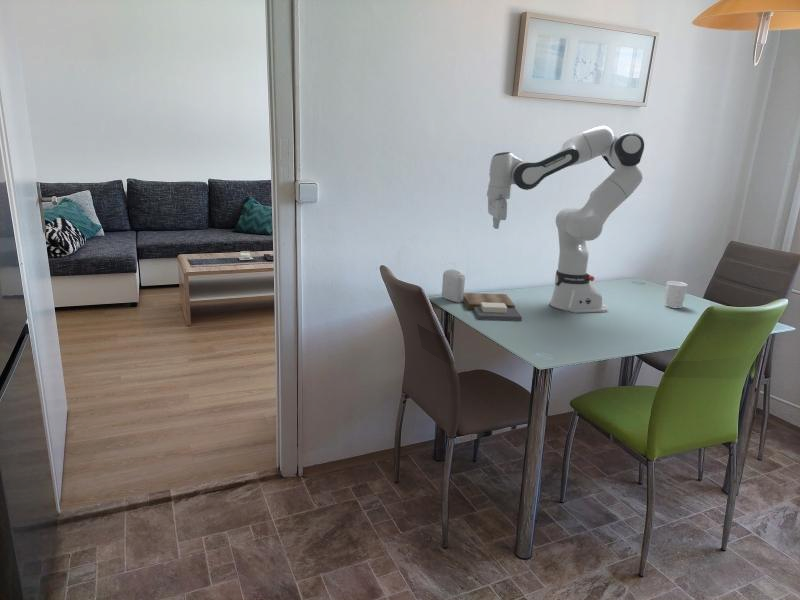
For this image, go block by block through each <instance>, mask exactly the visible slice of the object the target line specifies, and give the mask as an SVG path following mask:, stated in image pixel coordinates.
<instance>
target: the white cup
mask: <svg viewBox="0 0 800 600" xmlns="http://www.w3.org/2000/svg"><path fill="white" fill-rule="evenodd" d="M688 286H689V285H688V284H687V283H686V282H681V281H677V280H668V281H667V282H666V285H665V292H664V293H665V295H664V303H665V305H666V306H670V307H676V308H680V307H682V308H683V304H684V301H685V297H686V294H687V289H688ZM665 305H664V306H665ZM666 306H665V307H666Z"/></svg>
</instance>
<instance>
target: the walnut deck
mask: <svg viewBox="0 0 800 600" xmlns="http://www.w3.org/2000/svg"><path fill="white" fill-rule="evenodd" d="M463 302H464V304H465V307H466V308H467V310H468V311H474V307H481V302H487V303H504V304H505V305H506V307H507V308H515V309H516V304H515V303H514V302H513V300H512V299H510V297H509V296H508V294H506V293H480V292H479V293H475V292H474V293H472V292H464V298H463Z"/></svg>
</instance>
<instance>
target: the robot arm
mask: <svg viewBox="0 0 800 600" xmlns="http://www.w3.org/2000/svg"><path fill="white" fill-rule="evenodd" d="M644 149H645V141H644V138H643V137H642V136H641V135H640V134H638V133H637V132H626V133H623V134H622V135H620V136H619V137H617V136H615V135H614V132H613V130H612V129H611V128H610V127H608V126H606V125H601V126H597V127H592V128H590V129H586V130H584V131H582V132H579V133H577V134H576V135H574V136H571V137H570V138H569V139H567V140H566V141H565V142H564V143H563V145H562V147H561V149H560V150H559V151H558V152H556V153H555V154H553V155H550V156H548V157H546V158H544V159H542V160H540V161H537V162H528V161H525V160H523V159H521V158H519V157H518V156H516V155H514V154H513V153H512V152H510V151H506V152H505V151H504V152H498V153H495V154H494V155H493V156H492V158H491V161H490V166H489V182H488V187H487V193H486V196H487V198H488V199H487V200H488V201H487V212H488V214H489V215H491V216H492V223H493V225H492V228H494V229H495V230H498V229H499V228H500V223H501V221H506V220H507V215H508V202H507V200H510V197H511V189H512V187H511V186H512V185H516V186H517V187H518V188H520V190H521V189H522V190H525V191H528V190H533V189H534V188H536V187H537V186H539V184H541V182H542V181H543V180H544V179H546V178H548V177H549V176H551V175H553V174H554V173H555V174H556V172H557V173H558V172H559V171H562V170H564V169H566V168H568V167H572V166H576V165H580V164H583V163H585V162H588V161H590V160H593V159H595V158H597V157H600V156H601V157H602V159H604V161H606V163H607V164H608V166H609V167H610V168H611V169H613V172H611V174H610V175H608V176H607V178H605V179H604V180H603V181H602V182H601V183H600V184H598V185H597V186H596V188H594V189H593V191H591V192H590V194H589V198H588V200H587V201H586V203H585V204H584V206H582V207H581V208H580V209H579V208H577V207H567V208H566V207H565V208H564V209H561V210H560V211H559V212H557V215H556V217H555V225H556V227H557V234H558V244H559V245H558V246H559V253H558V254H559V257H558V265H557V269H556V272H555V276H554V289H553V292H552V293H553V294H552V295H551V299H550V301H549V305H550V306H551V307H553V308H555V309H559V310H562V311H563V310H564V311H567V312H571V313H573V314H574V313H602V312H608V307H607V305H606V304H605V303H603V296H602V294H601V292H600V291H599V290H598V289H597V288H596V287H595V286H594V285H593V284H592V283H591V282H594V281H595V277H594V276H593V275H590V274H589V273H588V272H587V271H588V262H589V251H588V248H587V242H588V241H594V240H596V239H597V238H599V237H600V235H601V234H602V231H603V226H604V225H605V223H606V222H607V220H608V218H609V217H610V216H611V214H612V213H613V212H614V211H615V210H616V209H617V208H618V207H620V205H622V204H623V203H624V202H625V201H626V200H627V199H629V198H630V196H631V195H632V194H633V193H634V192H635V191H636V189H637V188H638V187H639V185H641V183H642V181H643V175H642V171H641V170H640V168H638V166H637V165H639V164H640V162H641V160H642V157H643V154H644V151H645V150H644Z"/></svg>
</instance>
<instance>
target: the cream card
mask: <svg viewBox="0 0 800 600" xmlns="http://www.w3.org/2000/svg"><path fill="white" fill-rule="evenodd" d="M481 309H482V311H483V312H499V313H507V307H506V305H505V304H504V303H487V302H481Z"/></svg>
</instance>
